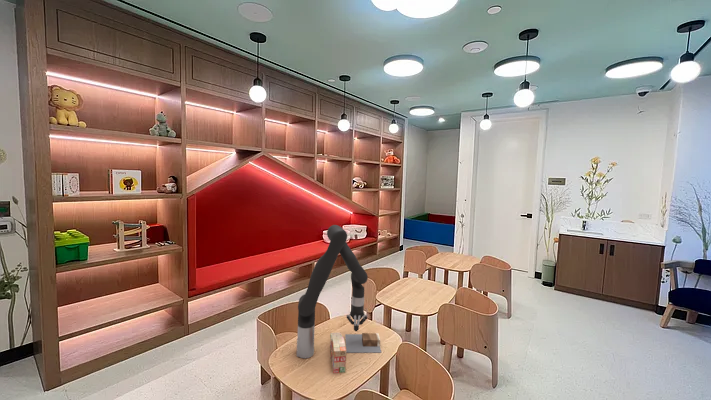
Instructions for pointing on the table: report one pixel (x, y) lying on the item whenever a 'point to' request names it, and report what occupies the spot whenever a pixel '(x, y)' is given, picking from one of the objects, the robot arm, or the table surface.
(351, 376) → the table surface
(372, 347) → the mat
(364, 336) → the walnut block
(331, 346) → the stack of blocks
